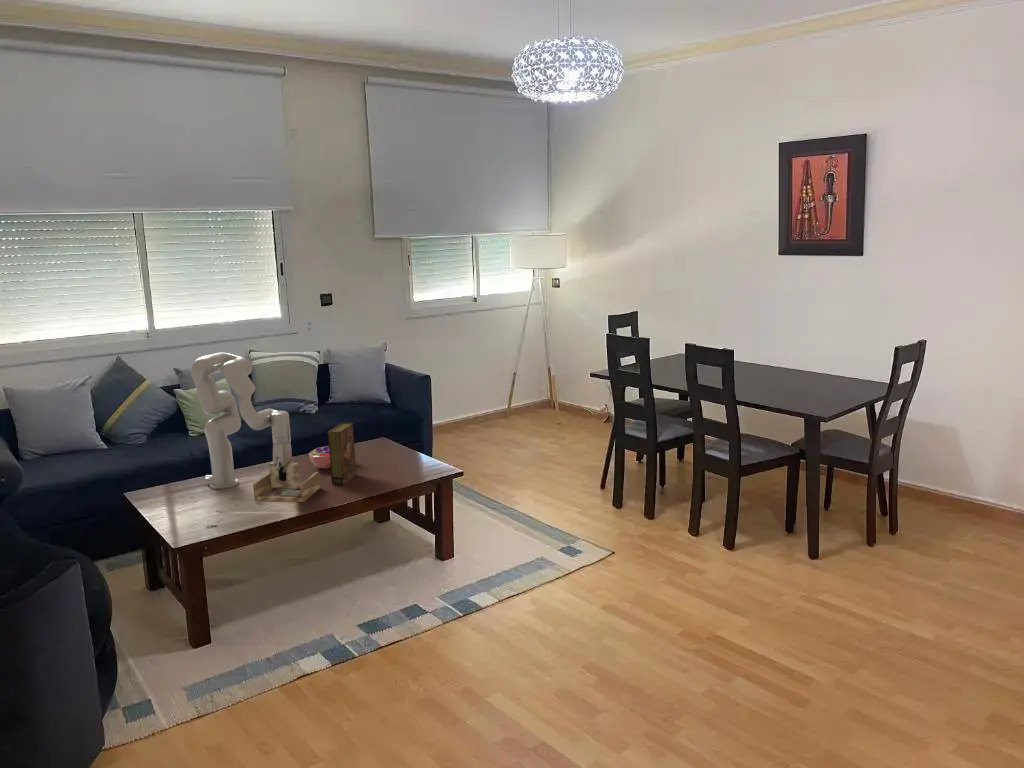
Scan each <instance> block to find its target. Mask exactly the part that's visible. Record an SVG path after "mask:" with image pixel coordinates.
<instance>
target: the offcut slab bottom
mask: <svg viewBox="0 0 1024 768" xmlns="http://www.w3.org/2000/svg"><path fill="white" fill-rule="evenodd" d="M282 492H283V491H277V492H276V493H275V494H273V496H272V497H282V496H281V493H282ZM295 497H301V495H299V496H295Z"/></svg>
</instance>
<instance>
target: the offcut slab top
mask: <svg viewBox="0 0 1024 768" xmlns="http://www.w3.org/2000/svg"><path fill="white" fill-rule="evenodd" d="M281 492H282V493H281V496H280V497H296V496H299V495H300V496H301V489H299V490H297V489H285V490H284V489H283V491H281ZM300 496H299V497H300Z"/></svg>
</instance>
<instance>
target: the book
mask: <svg viewBox="0 0 1024 768" xmlns="http://www.w3.org/2000/svg"><path fill="white" fill-rule="evenodd" d="M354 435H355V434H354V423H353V422H341V423H340V424H338V425H336V426H335V427H333V428H332V429H329V431H328V432H327V441H328V446H329V453H330V466H331V468H330V475H331V484H332V485H336V484H337V485H339V484H340V485H342V486H343V485H345V484H347V482H348V483H349V482H350V481H351V480H353V479H354V478H355V477H356V476H357V462H356V449H355V438H354V437H355V436H354Z"/></svg>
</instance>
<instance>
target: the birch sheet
mask: <svg viewBox="0 0 1024 768" xmlns="http://www.w3.org/2000/svg"><path fill="white" fill-rule="evenodd" d="M280 465H282V464H280ZM268 467H269V472H270V480H271V487H272V488H273V489H294V490H297V489H299V488H298V487H299V486H300V484H301V483H300V475H299V473H300V471H299V463H298V462H293V461H292V462H291V461H290V462H289V463H287V464H286V465H285V472H286V478H287V480H286V481H280V480H279V472H278V470H276V466H274V465H273V461H271V462H270V463H269V466H268ZM281 468H283V467H281Z"/></svg>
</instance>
